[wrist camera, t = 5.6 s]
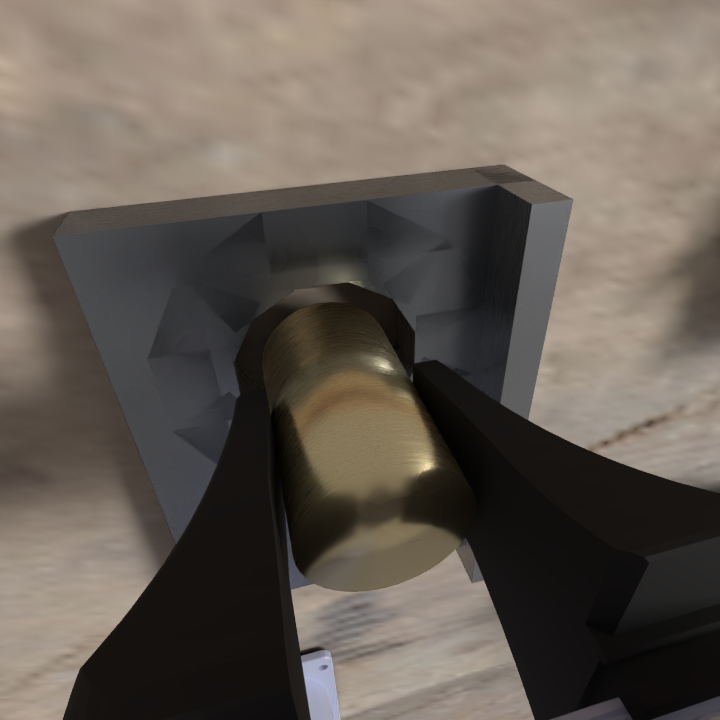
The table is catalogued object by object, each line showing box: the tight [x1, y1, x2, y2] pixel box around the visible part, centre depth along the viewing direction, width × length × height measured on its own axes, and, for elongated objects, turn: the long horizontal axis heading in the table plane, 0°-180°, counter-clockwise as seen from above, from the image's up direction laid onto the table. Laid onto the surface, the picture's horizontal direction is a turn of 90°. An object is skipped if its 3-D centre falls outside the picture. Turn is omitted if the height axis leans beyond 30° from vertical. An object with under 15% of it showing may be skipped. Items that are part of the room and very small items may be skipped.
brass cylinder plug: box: [262, 302, 476, 592], centre depth 12 cm, size 4×4×6 cm
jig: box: [52, 165, 573, 589], centre depth 16 cm, size 14×11×3 cm
